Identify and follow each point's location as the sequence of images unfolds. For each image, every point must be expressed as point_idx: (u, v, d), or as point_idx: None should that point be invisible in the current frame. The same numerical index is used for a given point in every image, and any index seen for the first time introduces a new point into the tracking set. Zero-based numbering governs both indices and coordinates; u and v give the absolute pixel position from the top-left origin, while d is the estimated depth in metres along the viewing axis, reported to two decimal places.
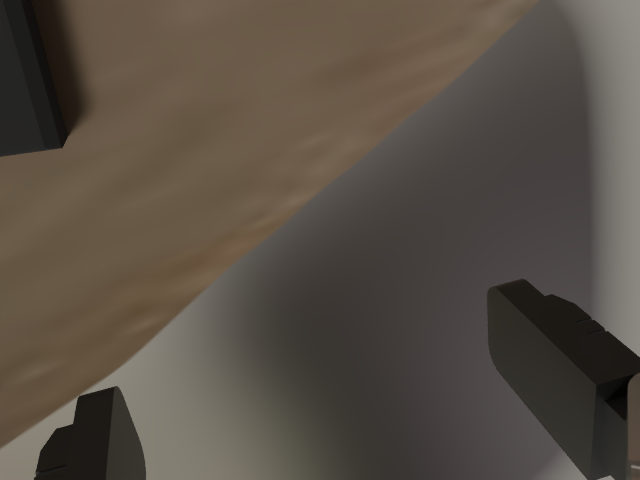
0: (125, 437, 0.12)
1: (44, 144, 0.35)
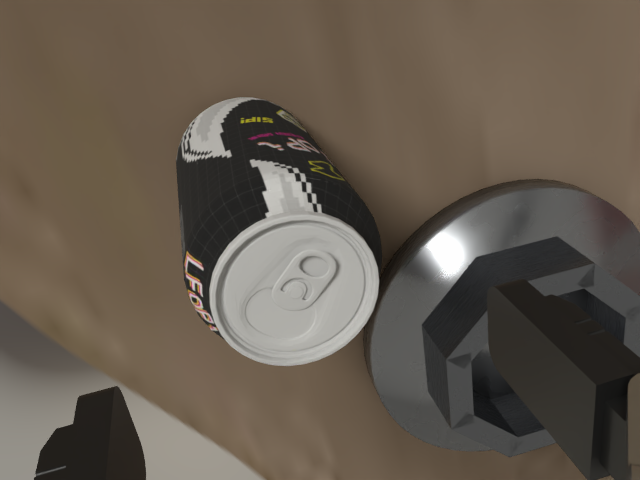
0: (125, 437, 0.12)
1: None
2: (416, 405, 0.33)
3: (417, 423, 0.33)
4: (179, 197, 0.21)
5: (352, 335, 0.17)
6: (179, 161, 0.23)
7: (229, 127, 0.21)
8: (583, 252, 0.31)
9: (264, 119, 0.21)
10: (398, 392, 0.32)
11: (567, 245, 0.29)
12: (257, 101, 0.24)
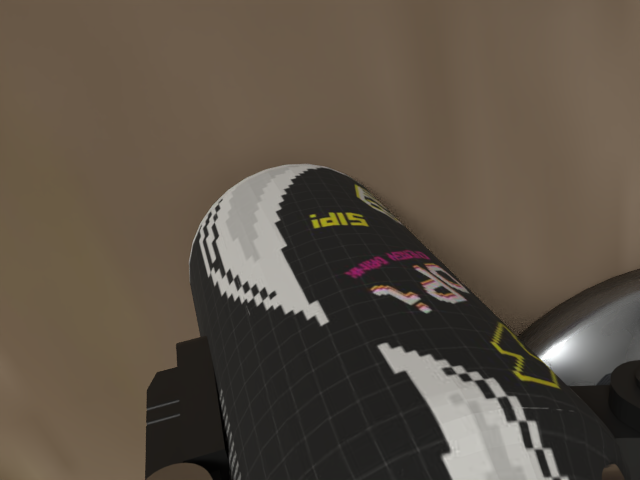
0: None
1: None
2: None
3: None
4: None
5: None
6: (200, 276, 0.14)
7: (294, 236, 0.12)
8: None
9: (351, 218, 0.13)
10: None
11: None
12: (319, 173, 0.15)
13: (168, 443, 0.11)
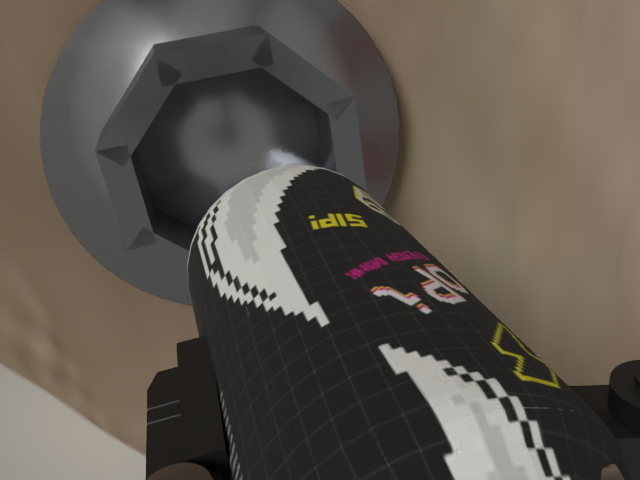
0: None
1: None
2: (119, 240, 0.28)
3: (126, 265, 0.29)
4: None
5: None
6: (198, 277, 0.14)
7: (293, 237, 0.12)
8: (296, 50, 0.27)
9: (350, 219, 0.13)
10: (90, 220, 0.27)
11: (257, 27, 0.25)
12: (317, 174, 0.15)
13: (169, 442, 0.11)
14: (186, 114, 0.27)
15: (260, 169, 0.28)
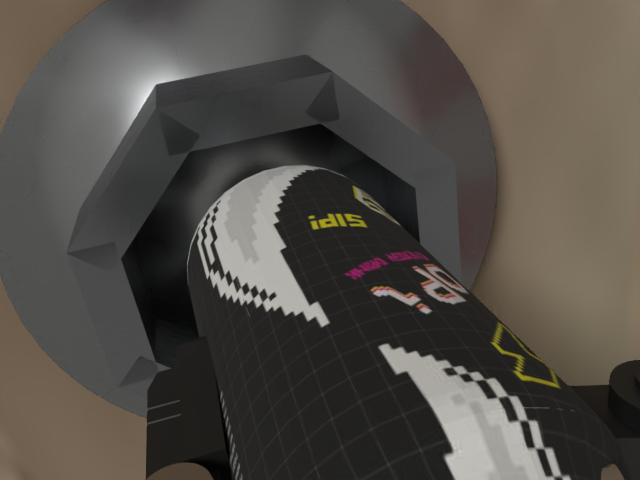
0: None
1: None
2: None
3: None
4: None
5: None
6: (198, 277, 0.14)
7: (294, 237, 0.12)
8: (362, 89, 0.18)
9: (350, 219, 0.13)
10: (66, 330, 0.19)
11: (310, 60, 0.17)
12: (316, 174, 0.15)
13: (168, 442, 0.11)
14: (203, 182, 0.18)
15: None
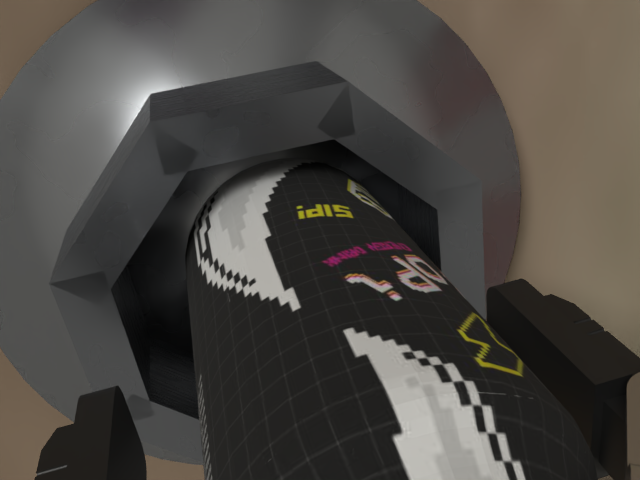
0: (126, 436, 0.12)
1: None
2: None
3: None
4: (195, 346, 0.12)
5: None
6: (191, 266, 0.15)
7: (279, 226, 0.12)
8: (377, 98, 0.17)
9: (337, 210, 0.13)
10: (52, 361, 0.18)
11: (322, 68, 0.15)
12: (312, 166, 0.15)
13: None
14: (202, 200, 0.17)
15: None
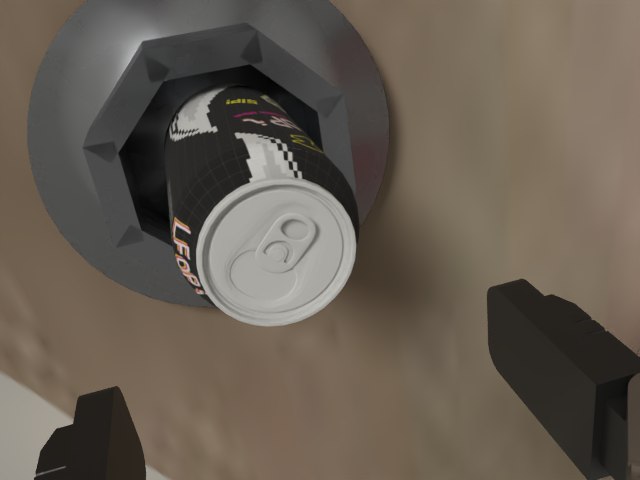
0: (125, 437, 0.12)
1: None
2: (107, 239, 0.28)
3: (114, 263, 0.28)
4: (167, 174, 0.22)
5: (331, 297, 0.18)
6: (167, 142, 0.24)
7: (215, 107, 0.22)
8: (286, 48, 0.27)
9: (249, 101, 0.22)
10: (78, 218, 0.27)
11: (247, 25, 0.25)
12: (242, 86, 0.25)
13: None
14: (175, 111, 0.26)
15: None
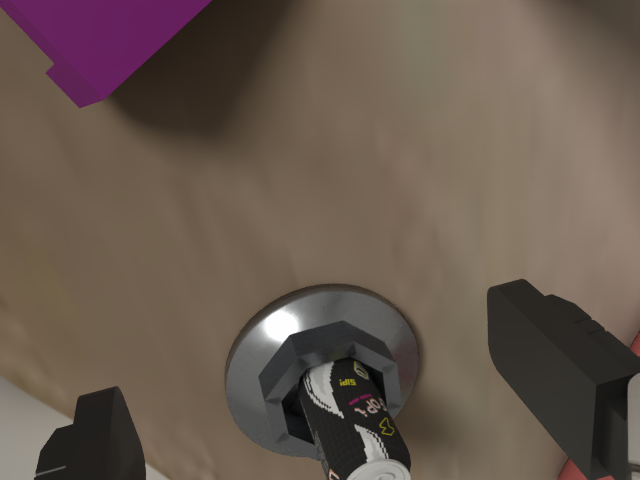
0: (125, 437, 0.12)
1: None
2: (261, 427, 0.50)
3: (263, 438, 0.51)
4: (311, 421, 0.44)
5: None
6: (304, 392, 0.46)
7: (335, 388, 0.44)
8: (363, 328, 0.48)
9: (351, 381, 0.44)
10: (247, 418, 0.49)
11: (345, 327, 0.47)
12: None
13: None
14: None
15: None
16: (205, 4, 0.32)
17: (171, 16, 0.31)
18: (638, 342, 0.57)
